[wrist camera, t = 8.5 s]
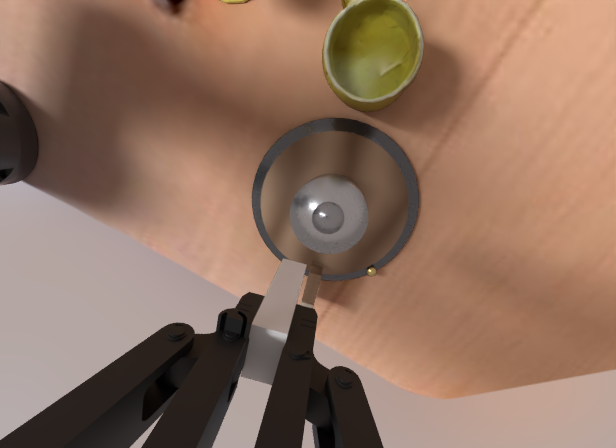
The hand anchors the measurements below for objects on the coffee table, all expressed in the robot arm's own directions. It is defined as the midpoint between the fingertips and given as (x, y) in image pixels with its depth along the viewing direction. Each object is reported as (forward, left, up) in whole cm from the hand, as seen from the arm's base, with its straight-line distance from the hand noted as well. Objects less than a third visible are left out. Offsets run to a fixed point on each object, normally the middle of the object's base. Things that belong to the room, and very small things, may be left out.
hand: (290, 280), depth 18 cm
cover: (+2, 0, -21) cm, 21 cm away
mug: (+1, +18, -23) cm, 29 cm away
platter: (+2, -2, -22) cm, 22 cm away
